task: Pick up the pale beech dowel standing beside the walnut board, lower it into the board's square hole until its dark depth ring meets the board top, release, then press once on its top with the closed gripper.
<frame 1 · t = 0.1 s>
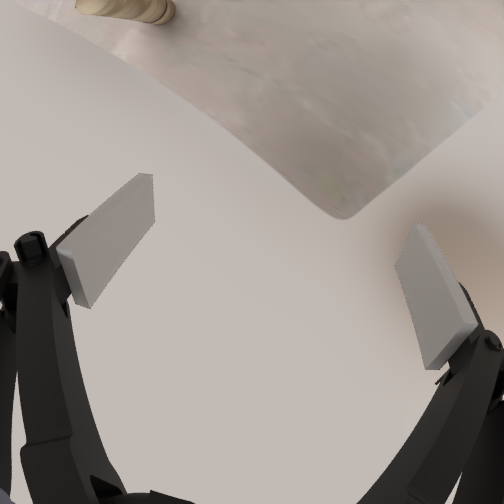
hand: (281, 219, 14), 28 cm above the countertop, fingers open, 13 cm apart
peg: (160, 11, 28), on the countertop
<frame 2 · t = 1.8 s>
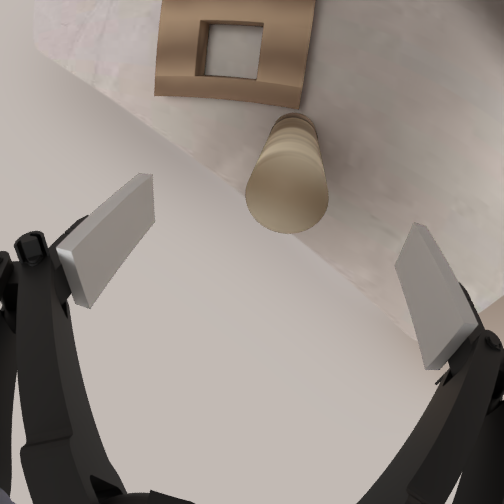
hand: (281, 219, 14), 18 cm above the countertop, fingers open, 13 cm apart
board: (238, 23, 22), on the countertop
peg: (294, 133, 28), on the countertop
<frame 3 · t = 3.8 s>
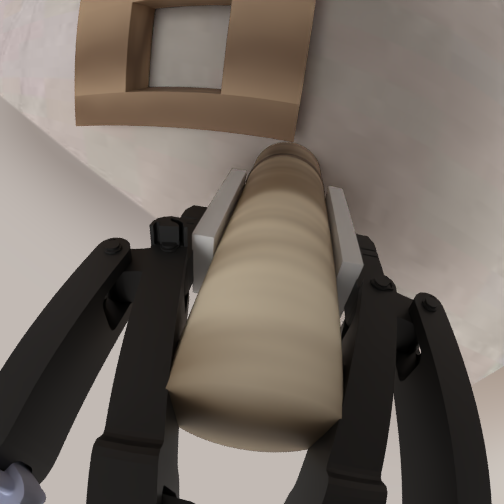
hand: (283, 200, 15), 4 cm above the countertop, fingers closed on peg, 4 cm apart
board: (197, 4, 13), on the countertop
peg: (287, 174, 19), on the countertop, touching gripper
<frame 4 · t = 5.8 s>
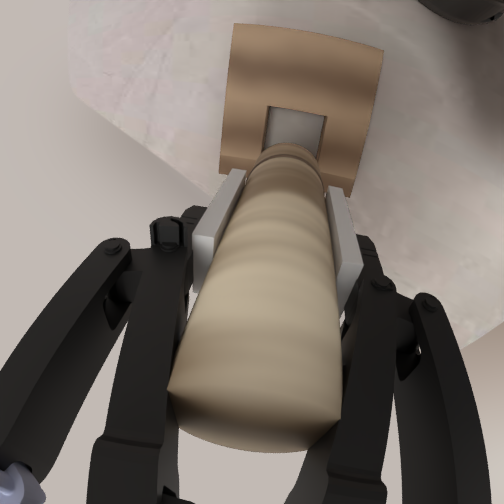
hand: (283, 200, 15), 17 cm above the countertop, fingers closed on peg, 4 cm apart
board: (298, 105, 27), on the countertop
peg: (286, 174, 19), point 13 cm above the countertop, touching gripper
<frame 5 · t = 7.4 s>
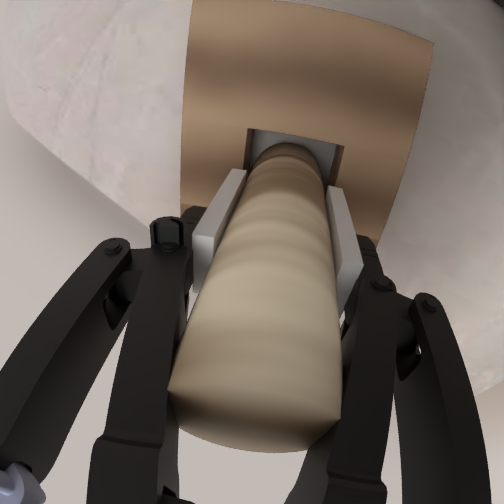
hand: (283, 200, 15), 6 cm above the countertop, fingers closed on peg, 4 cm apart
board: (297, 125, 18), on the countertop
peg: (286, 174, 19), point 2 cm above the countertop, touching gripper
when the fingers open (5 cm above the countertop, at t = 7.9 s): peg stays where it is, resting in board.
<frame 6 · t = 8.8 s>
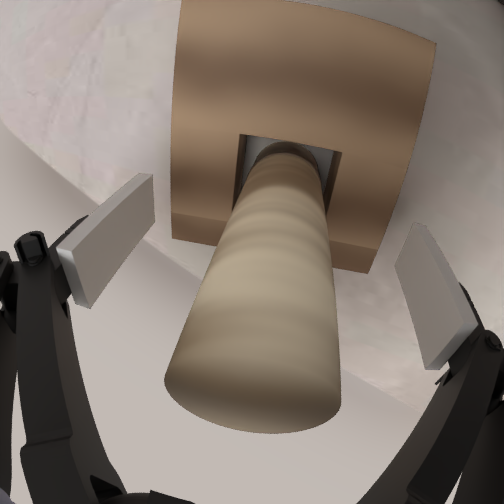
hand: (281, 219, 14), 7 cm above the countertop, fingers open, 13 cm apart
board: (292, 129, 18), on the countertop
peg: (285, 172, 19), resting in board
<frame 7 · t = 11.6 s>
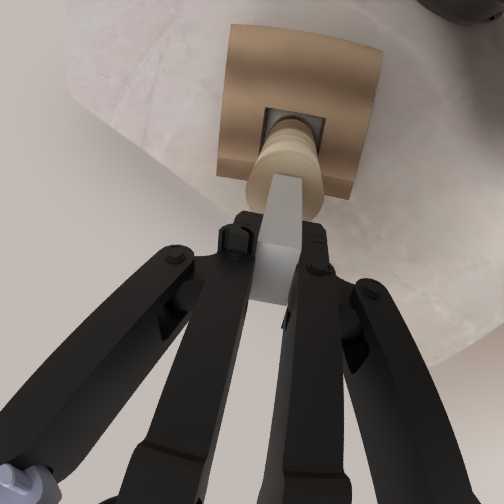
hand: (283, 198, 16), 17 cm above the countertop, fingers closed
board: (296, 107, 27), on the countertop
peg: (291, 134, 29), resting in board
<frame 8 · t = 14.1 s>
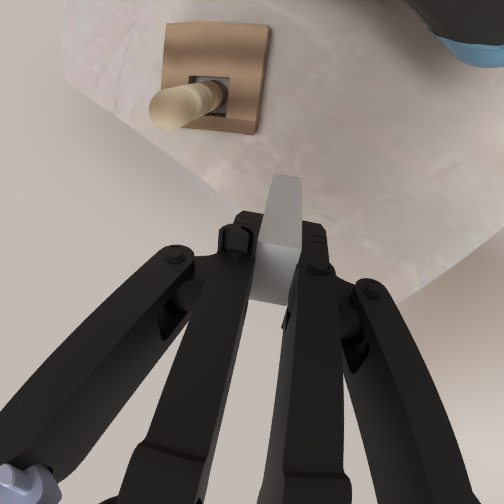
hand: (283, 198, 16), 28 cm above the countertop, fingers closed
board: (214, 74, 36), on the countertop
peg: (213, 94, 38), resting in board
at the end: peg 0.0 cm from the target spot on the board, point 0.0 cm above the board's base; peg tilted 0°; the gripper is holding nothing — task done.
